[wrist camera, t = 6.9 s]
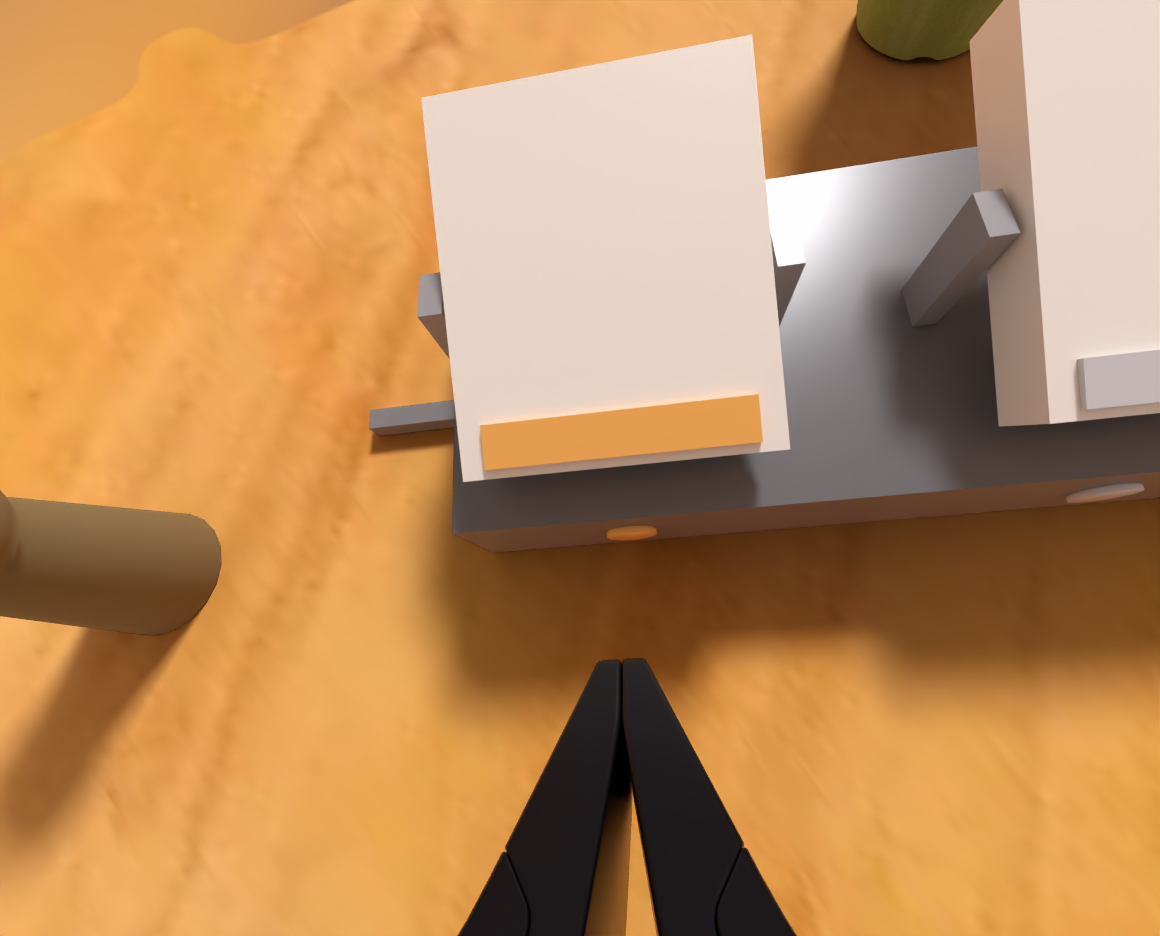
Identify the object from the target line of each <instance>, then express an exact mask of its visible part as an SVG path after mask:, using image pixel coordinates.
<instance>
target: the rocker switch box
mask: <svg viewBox="0 0 1160 936" xmlns="http://www.w3.org/2000/svg"><path fill="white" fill-rule="evenodd" d="M766 190H767V201H768V212H769V223H770V234H771V245H772V255H773V266H774V277H775V288H776V299H777V310H778V320H779V331H780V342H781V353H782V364H783V375H784V385H785V396H786V407H787V418H788V429H789V440H790V449H789V450H779V451H769V452H759V453H749V454H739V455H729V456H719V457H709V458H699V459H689V460H679V461H669V462H659V463H649V464H639V465H629V466H619V467H608V468H598V469H588V470H578V471H568V472H558V473H548V474H538V475H528V476H518V477H508V478H498V479H488V480H478V481H468V482H463V476H462V467H461V458H460V449H459V440H458V431H457V421H456V412H455V403H454V400H452V401H443V402H435V403H426V404H418V405H410V406H401V407H393V408H384V409H376V410H370V421H369V429H370V430H372V431H373V432H375V433H376V434H377V435H379V436H382V435H391V434H400V433H409V432H417V431H426V430H435V429H444V428H453V427H454V458H453V512H452V534H454V535H456V536H458V537H460V538H462V539H464V540H466V541H469V542H471V543H473V544H475V545H477V546H479V547H482V548H484V549H486V550H488V551H490V552H492V553H496V552H508V551H520V550H532V549H545V548H557V547H569V546H581V545H593V544H605V543H617V542H629V541H642V540H654V539H666V538H678V537H690V536H702V535H714V534H726V533H738V532H751V531H763V530H775V529H787V528H799V527H811V526H823V525H835V524H848V523H860V522H872V521H884V520H896V519H908V518H920V517H932V516H944V515H957V514H969V513H981V512H993V511H1005V510H1017V509H1029V508H1041V507H1054V506H1066V505H1078V504H1090V503H1102V502H1114V501H1126V500H1138V499H1150V498H1160V413H1154V414H1144V415H1134V416H1124V417H1114V418H1104V419H1094V420H1084V421H1074V422H1064V423H1054V424H1038V425H1019V426H999V425H998V411H997V398H996V385H995V372H994V359H993V346H992V332H991V319H990V306H989V293H988V280H987V268H988V267H989V266H990V265H991V264H992V263H993V262H994V261H995V260H996V259H997V258H998V257H999V255H1000V254H1001V253H1002V252H1003V251H1004V250H1005V249H1006V248H1007V247H1008V246H1009V245H1010V244H1011V243H1012V241H1013V240H1014V239H1015V238H1016V237H1017V236H1018V235H1019V234H1020V230H1019V228H1018V225H1017V223H1016V221H1015V218H1014V216H1013V213H1012V211H1011V208H1010V206H1009V203H1008V201H1007V198H1006V196H1005V194H1004V191H1003V189H996V190H989V191H983V192H981V188H980V174H979V161H978V148H977V146H976V147H970V148H963V149H957V150H951V151H944V152H938V153H932V154H925V155H919V156H913V157H907V158H900V159H894V160H888V161H881V162H875V163H869V164H863V165H856V166H850V167H844V168H837V169H831V170H825V171H818V172H812V173H806V174H800V175H793V176H787V177H781V178H774V179H768V180H766ZM418 318H419V319H420V321H421V322H422V323H423V325H424V326H425V327H426V328H427V330H428V331H429V332H430V334H431V335H432V336H433V338H434V339H435V340H436V342H437V343H438V344H439V346H440V347H441V348H442V350H443V351H444V352H445V353H446V355H447V356H448V357H449V348H448V339H447V330H446V321H445V311H444V302H443V293H442V284H441V275H440V273H433V274H426V275H420V278H419V300H418ZM449 359H450V357H449Z"/></svg>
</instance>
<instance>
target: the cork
mask: <svg viewBox="0 0 1160 936" xmlns="http://www.w3.org/2000/svg"><path fill="white" fill-rule="evenodd" d="M220 567H221V547H220V543H219V541H218V538H217V536H216V533H215V531H214V530H213V529H212V528H211V527H210V526H209V525H208V524H207V523H206V521H205V520H203V519H201V518H198V517H196V516H193V515H191V514H183V513H172V512H161V511H151V510H140V509H130V508H119V507H108V506H98V505H87V504H76V503H66V502H55V501H45V500H34V499H23V498H13V497H6V496H5V495H4V494H3V493H2V492H1V491H0V616H4V617H11V618H19V619H26V620H34V621H42V622H49V623H57V624H64V625H72V626H79V627H87V628H95V629H102V630H110V631H117V632H125V633H133V634H140V635H160V634H163V633H167V632H170V631H173V630H176V629H177V628H179V627H180V626H182V625H183V624H185V623H186V622H188V621H189V620H191V619H192V618H193V617H194V616H195V615H196V614H197V613H198V611H199V610H200V609H201V608H202V607H203V606H204V605H205V603H206V602H207V601H208V599H209V597H210V595H211V593H212V591H213V589H214V587H215V585H216V584H217V580H218V576H219V571H220Z"/></svg>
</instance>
